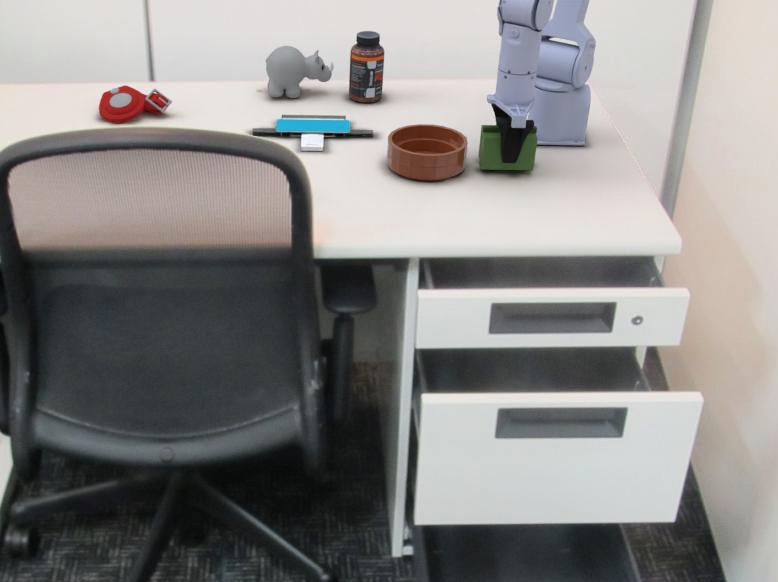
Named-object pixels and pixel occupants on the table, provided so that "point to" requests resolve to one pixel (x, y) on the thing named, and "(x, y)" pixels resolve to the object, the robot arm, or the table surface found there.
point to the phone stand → (312, 129)
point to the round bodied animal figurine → (293, 71)
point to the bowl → (426, 152)
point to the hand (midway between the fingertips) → (506, 154)
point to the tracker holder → (130, 104)
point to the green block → (492, 150)
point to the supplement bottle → (366, 68)
